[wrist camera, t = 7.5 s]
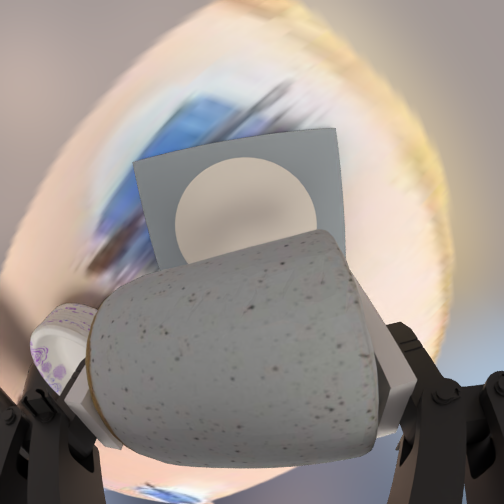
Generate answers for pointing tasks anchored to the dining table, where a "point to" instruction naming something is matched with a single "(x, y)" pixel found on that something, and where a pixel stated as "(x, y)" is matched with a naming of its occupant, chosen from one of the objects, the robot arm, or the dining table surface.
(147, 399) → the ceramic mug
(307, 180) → the board
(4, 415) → the robot arm
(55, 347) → the paper bowls
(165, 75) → the dining table surface
